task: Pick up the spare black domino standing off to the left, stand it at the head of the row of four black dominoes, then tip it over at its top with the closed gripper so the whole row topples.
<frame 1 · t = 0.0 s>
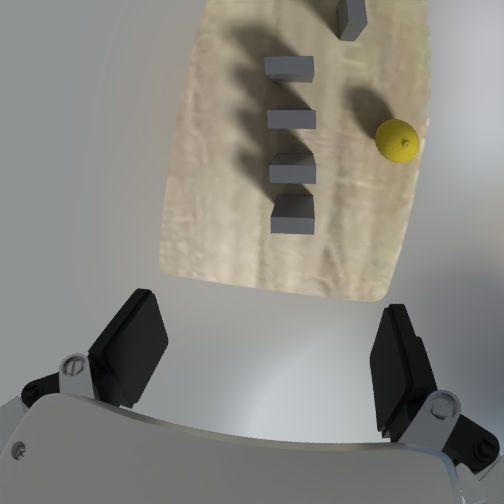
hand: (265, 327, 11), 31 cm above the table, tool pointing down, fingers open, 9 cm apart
lemon: (387, 137, 34), on the table
domino 1: (345, 25, 27), on the table
domino 3: (294, 117, 35), on the table
domino 4: (295, 160, 38), on the table
domino 2: (292, 75, 32), on the table
domino 5: (295, 201, 40), on the table
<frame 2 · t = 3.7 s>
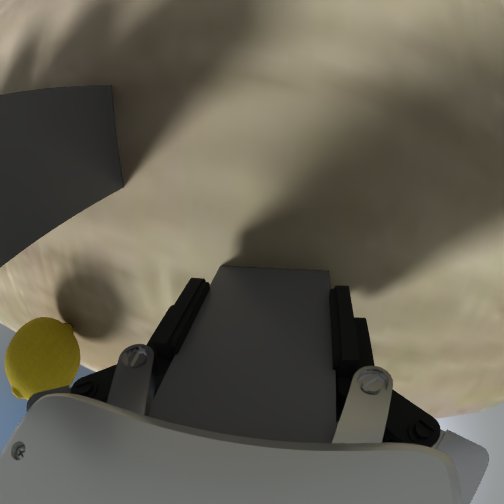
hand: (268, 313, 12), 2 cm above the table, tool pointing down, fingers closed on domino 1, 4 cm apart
lemon: (71, 324, 19), on the table
domino 1: (273, 286, 14), on the table, touching gripper
domino 2: (100, 139, 11), on the table
when the fingers open (3 cm above the table, at t = 8.1 s): domino 1 stays where it is, on the table.
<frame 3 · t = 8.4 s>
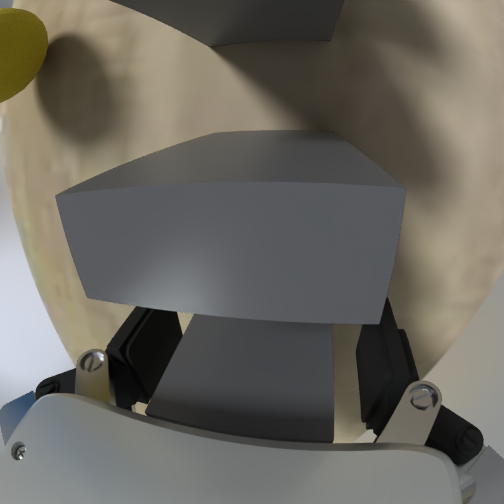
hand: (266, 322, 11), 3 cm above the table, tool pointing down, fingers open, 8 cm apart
lemon: (46, 54, 10), on the table
domino 1: (275, 276, 14), on the table
domino 3: (266, 20, 9), on the table
domino 2: (273, 153, 12), on the table
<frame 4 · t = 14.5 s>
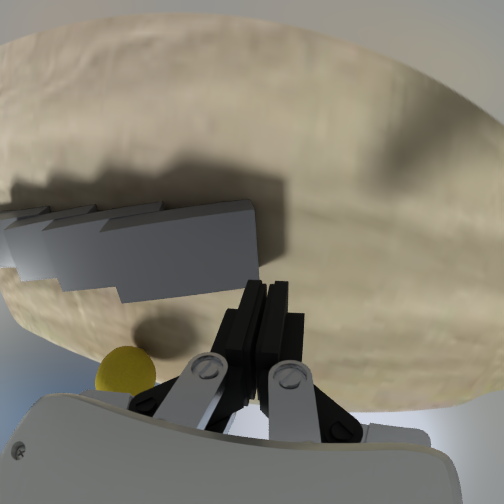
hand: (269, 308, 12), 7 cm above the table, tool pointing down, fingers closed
lemon: (143, 348, 27), on the table
domino 1: (254, 242, 18), point 1 cm above the table, tilted 71°, touching domino 2
domino 3: (98, 238, 20), point 1 cm above the table, tilted 71°, touching domino 2, domino 4
domino 4: (50, 235, 21), point 1 cm above the table, tilted 74°, touching domino 3, domino 5
domino 2: (167, 241, 19), point 1 cm above the table, tilted 71°, touching domino 1, domino 3
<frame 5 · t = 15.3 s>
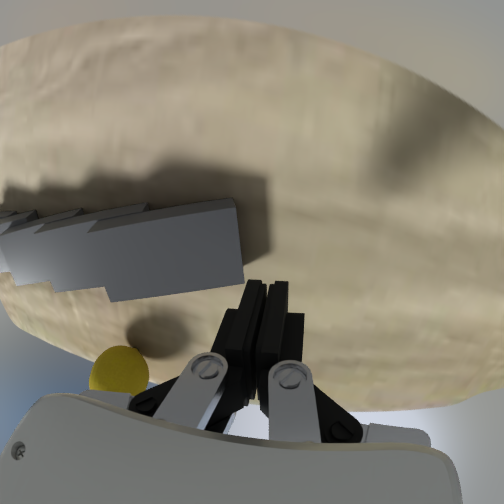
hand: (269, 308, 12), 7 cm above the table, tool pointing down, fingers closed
lemon: (137, 348, 27), on the table
domino 1: (238, 240, 18), point 1 cm above the table, tilted 71°, touching domino 2
domino 3: (86, 241, 20), point 1 cm above the table, tilted 71°
domino 4: (38, 238, 21), point 1 cm above the table, tilted 71°
domino 2: (152, 240, 19), point 1 cm above the table, tilted 72°, touching domino 1
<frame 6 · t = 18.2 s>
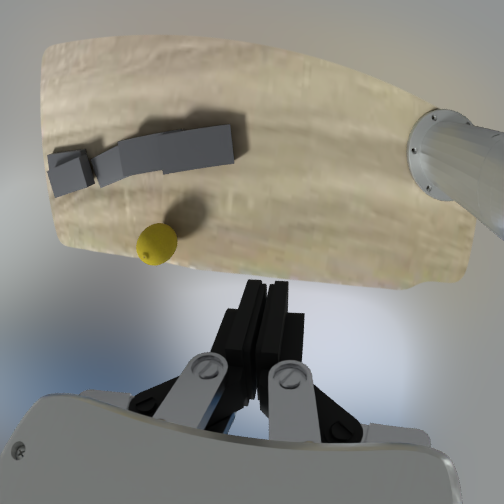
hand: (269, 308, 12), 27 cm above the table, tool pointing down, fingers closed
lemon: (169, 231, 43), on the table
domino 1: (231, 143, 34), point 1 cm above the table, tilted 72°, touching domino 2
domino 3: (141, 153, 37), on the table, tilted 90°, touching domino 2
domino 4: (86, 170, 38), point 2 cm above the table, tilted 91°, touching domino 5
domino 2: (184, 147, 35), point 1 cm above the table, tilted 77°, touching domino 1, domino 3
domino 5: (85, 163, 39), on the table, tilted 90°, touching domino 4
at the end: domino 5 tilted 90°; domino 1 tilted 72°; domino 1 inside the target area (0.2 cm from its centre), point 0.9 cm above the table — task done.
